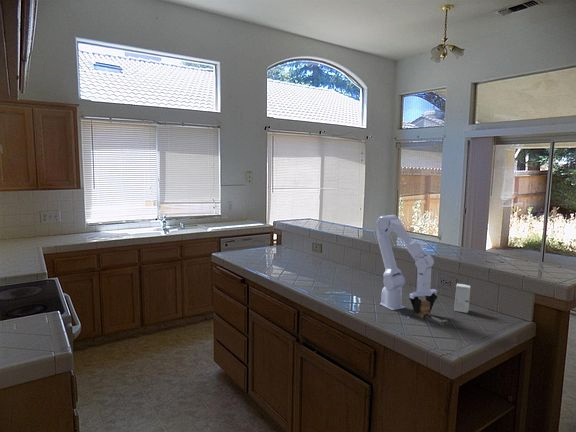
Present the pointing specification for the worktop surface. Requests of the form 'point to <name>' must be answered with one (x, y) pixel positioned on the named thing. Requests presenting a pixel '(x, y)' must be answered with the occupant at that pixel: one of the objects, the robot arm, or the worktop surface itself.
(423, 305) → the keeper
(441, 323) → the rail
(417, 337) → the worktop surface
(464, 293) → the skincare box
